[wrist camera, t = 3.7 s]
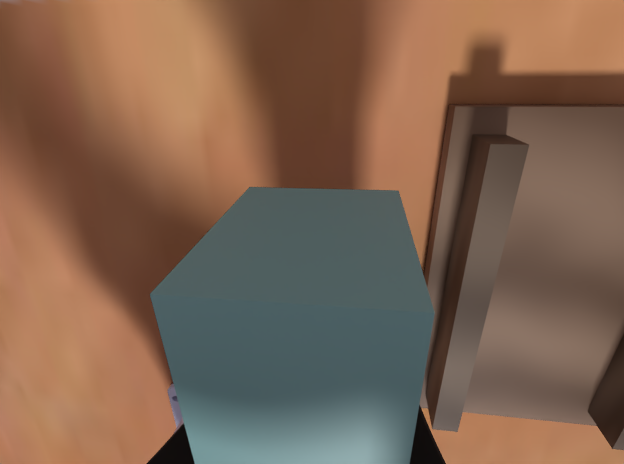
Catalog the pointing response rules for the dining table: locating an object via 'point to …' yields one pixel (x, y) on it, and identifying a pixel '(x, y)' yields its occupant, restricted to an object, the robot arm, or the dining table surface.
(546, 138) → the cradle
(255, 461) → the tall teal pillar block
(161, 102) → the dining table surface
